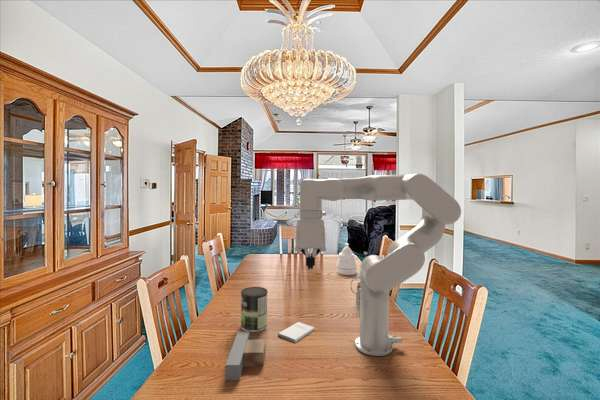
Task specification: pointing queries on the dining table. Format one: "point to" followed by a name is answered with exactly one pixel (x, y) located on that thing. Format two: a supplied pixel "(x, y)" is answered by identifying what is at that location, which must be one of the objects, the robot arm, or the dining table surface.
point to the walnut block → (254, 353)
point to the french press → (358, 289)
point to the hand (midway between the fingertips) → (310, 267)
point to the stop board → (236, 357)
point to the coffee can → (254, 309)
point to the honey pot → (346, 262)
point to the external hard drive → (296, 332)
